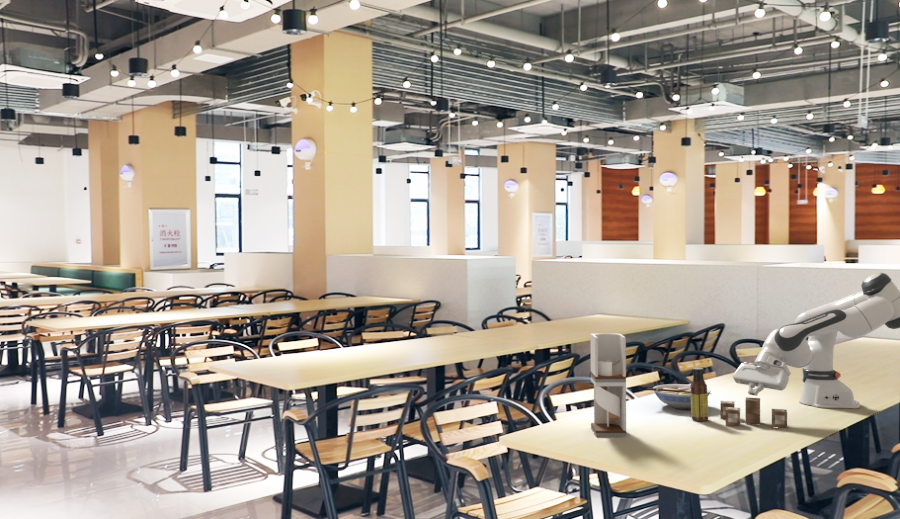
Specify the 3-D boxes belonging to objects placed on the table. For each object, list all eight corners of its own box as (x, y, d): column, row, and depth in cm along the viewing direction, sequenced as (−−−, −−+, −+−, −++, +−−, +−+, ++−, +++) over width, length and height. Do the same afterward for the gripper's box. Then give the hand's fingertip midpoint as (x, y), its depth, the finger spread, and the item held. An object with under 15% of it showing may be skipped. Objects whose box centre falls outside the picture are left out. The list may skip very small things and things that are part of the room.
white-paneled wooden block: (740, 423, 290) (740, 407, 290) (740, 427, 285) (740, 410, 285) (725, 422, 292) (725, 406, 292) (725, 426, 287) (725, 409, 287)
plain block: (760, 422, 292) (760, 398, 292) (760, 425, 288) (759, 400, 288) (745, 421, 294) (745, 397, 294) (745, 424, 290) (745, 400, 289)
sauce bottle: (708, 418, 299) (708, 367, 298) (708, 422, 293) (708, 369, 292) (690, 417, 301) (690, 366, 300) (690, 421, 295) (690, 369, 294)
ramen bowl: (716, 403, 324) (716, 384, 324) (710, 415, 304) (710, 394, 303) (655, 399, 335) (655, 380, 335) (645, 410, 314) (645, 390, 314)
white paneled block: (734, 416, 301) (734, 401, 301) (734, 419, 296) (734, 403, 296) (720, 416, 303) (720, 400, 303) (720, 419, 298) (720, 402, 298)
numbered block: (786, 425, 287) (786, 409, 286) (787, 429, 282) (787, 412, 282) (771, 424, 288) (771, 408, 288) (772, 428, 283) (772, 411, 283)
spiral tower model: (591, 428, 286) (590, 333, 285) (620, 428, 286) (619, 333, 284) (595, 436, 274) (595, 337, 273) (626, 436, 274) (625, 337, 273)
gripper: (738, 356, 303) (724, 384, 298) (788, 363, 287) (774, 393, 282) (745, 366, 306) (730, 394, 301) (794, 374, 290) (780, 403, 285)
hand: (752, 394), depth 291 cm, fingers closed
